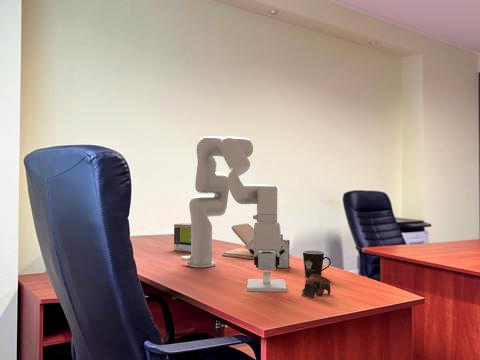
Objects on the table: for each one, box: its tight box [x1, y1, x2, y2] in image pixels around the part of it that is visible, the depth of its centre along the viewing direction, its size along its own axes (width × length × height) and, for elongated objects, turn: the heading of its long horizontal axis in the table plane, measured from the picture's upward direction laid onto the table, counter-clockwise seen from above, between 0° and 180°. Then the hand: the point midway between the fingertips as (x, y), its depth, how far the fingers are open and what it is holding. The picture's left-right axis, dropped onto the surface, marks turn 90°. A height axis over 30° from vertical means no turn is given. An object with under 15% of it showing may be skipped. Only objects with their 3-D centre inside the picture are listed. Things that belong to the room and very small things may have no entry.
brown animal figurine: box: [301, 274, 332, 299], centre depth 152 cm, size 12×10×8 cm
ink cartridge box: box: [267, 234, 291, 269], centre depth 203 cm, size 10×6×14 cm, turn 78°
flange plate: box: [246, 271, 288, 293], centre depth 165 cm, size 14×14×5 cm
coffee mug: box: [302, 250, 332, 279], centre depth 181 cm, size 12×9×10 cm
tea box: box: [173, 222, 191, 253], centre depth 247 cm, size 15×10×15 cm, turn 58°
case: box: [221, 223, 267, 260], centre depth 233 cm, size 20×21×16 cm
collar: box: [257, 251, 277, 272], centre depth 165 cm, size 7×7×6 cm
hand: (266, 266), depth 165 cm, fingers closed on collar, 6 cm apart
